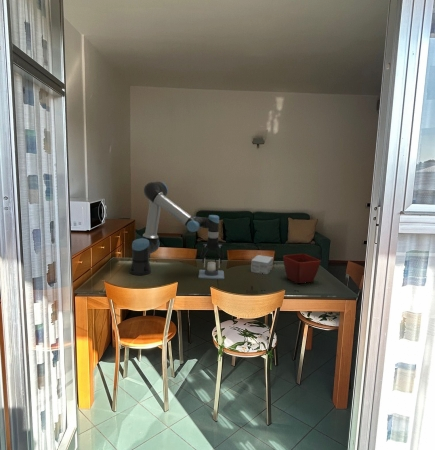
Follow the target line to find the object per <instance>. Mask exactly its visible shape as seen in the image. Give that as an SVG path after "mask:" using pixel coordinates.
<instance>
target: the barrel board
mask: <svg viewBox="0 0 435 450" xmlns="http://www.w3.org/2000/svg"><path fill="white" fill-rule="evenodd" d="M224 271H225V270H219V269H217V268H216V272H208V271H207V268H206V269H205V268H204V269H198V277H197V278H198V279H210V280H225V273H224Z"/></svg>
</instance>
